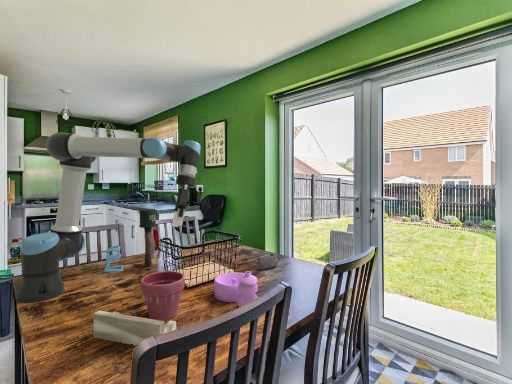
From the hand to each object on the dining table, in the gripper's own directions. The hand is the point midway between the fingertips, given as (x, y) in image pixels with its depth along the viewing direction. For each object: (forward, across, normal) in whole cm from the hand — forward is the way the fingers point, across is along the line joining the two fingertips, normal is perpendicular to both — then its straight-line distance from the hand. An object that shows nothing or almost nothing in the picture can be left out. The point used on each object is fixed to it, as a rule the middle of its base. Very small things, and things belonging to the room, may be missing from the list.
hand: (176, 226), depth 115 cm
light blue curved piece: (+25, +42, +22) cm, 54 cm away
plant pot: (+31, -14, 0) cm, 34 cm away
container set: (+25, -11, -27) cm, 38 cm away
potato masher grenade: (+21, +43, +6) cm, 48 cm away
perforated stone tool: (+14, +19, -52) cm, 57 cm away
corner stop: (+34, -25, +8) cm, 43 cm away
